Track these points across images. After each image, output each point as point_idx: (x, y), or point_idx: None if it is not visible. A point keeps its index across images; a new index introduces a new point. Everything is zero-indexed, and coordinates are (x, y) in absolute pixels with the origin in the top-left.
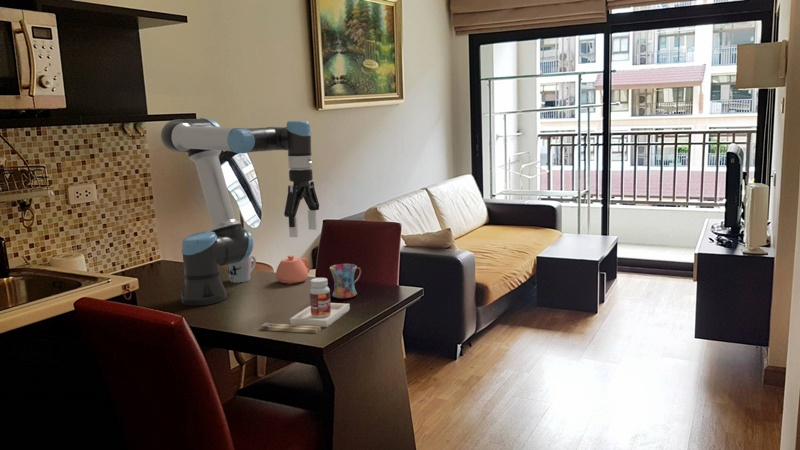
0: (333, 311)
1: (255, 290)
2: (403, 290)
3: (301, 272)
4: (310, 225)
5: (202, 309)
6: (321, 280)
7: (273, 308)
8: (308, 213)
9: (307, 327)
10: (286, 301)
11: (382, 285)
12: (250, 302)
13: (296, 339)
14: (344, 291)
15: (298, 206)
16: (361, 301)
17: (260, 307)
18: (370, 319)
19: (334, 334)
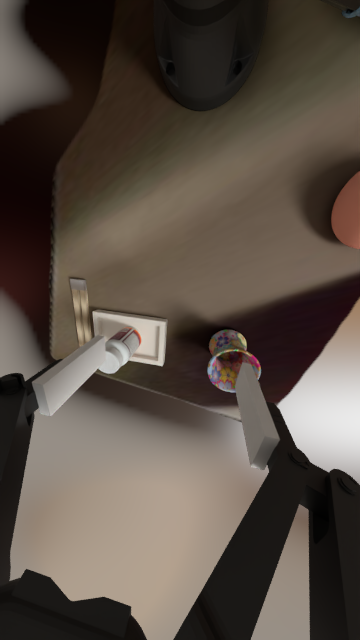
0: (147, 347)
1: (290, 147)
2: None
3: (354, 241)
4: (243, 379)
5: (139, 100)
6: (103, 366)
7: (160, 255)
8: (258, 421)
9: (85, 334)
10: (200, 261)
11: (289, 384)
12: (192, 191)
13: (59, 330)
14: (212, 353)
15: (22, 478)
16: (201, 368)
17: (163, 229)
18: (133, 385)
19: None
